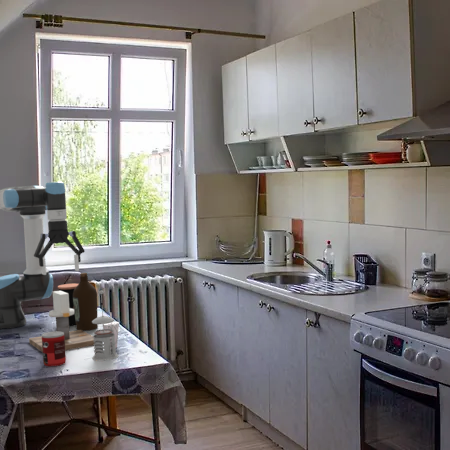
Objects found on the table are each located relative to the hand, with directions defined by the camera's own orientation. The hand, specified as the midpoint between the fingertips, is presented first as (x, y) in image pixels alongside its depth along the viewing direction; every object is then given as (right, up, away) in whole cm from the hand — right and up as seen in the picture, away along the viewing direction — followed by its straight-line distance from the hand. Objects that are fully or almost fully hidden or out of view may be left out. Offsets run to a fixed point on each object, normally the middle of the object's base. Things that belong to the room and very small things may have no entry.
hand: (60, 272), depth 264 cm
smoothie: (+22, -29, -9) cm, 38 cm away
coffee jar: (-5, -27, +39) cm, 47 cm away
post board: (+1, -29, +1) cm, 29 cm away
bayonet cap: (0, -17, 0) cm, 17 cm away
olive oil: (+5, -27, +27) cm, 39 cm away
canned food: (+5, -31, -28) cm, 42 cm away
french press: (+23, -30, -23) cm, 44 cm away
